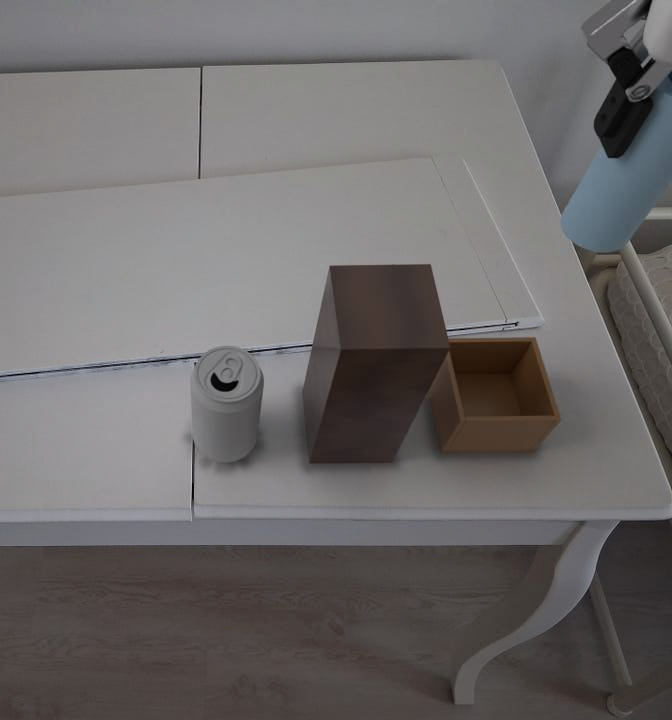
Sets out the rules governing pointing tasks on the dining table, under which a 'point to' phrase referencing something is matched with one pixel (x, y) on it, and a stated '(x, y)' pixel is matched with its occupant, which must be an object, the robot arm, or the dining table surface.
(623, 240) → the bottle
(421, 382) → the plinth
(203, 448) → the beverage can
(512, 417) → the open wooden box
